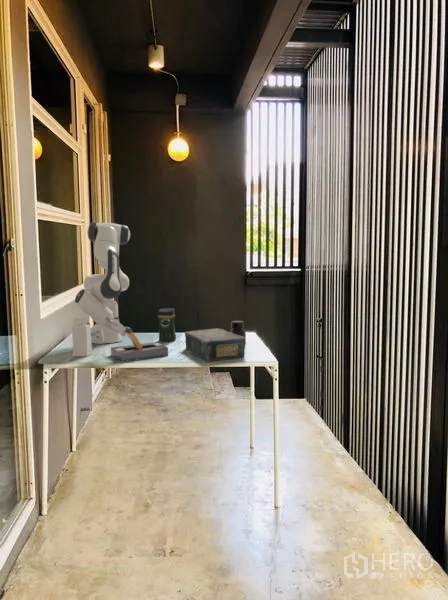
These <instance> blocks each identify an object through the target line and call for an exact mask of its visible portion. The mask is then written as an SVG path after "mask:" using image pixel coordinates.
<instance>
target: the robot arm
mask: <svg viewBox="0 0 448 600" xmlns="http://www.w3.org/2000/svg"><path fill="white" fill-rule="evenodd" d="M86 234H87V238H88V240H89V241H91V242H93V243H94V247H93V254H94V257H95V258H96V260H97V262H98V265H99V267H101V268H102V269H104V270H106V271H105V273H95V274H91V275H87V276H86V277H85V278H84V280H83V287H84V288H83V289H80V290H79V291H78V292H77V294H76V295H75V298H74V302H75V304H76V306H77V307H78V308H79V309H80V310H81V312H83V313H85V315H87V316H88V317H90V318H91V319H92V320H93V322H95V324H94V325H92V326H91V344H98V345H102V344H103V345H104V344H112V343H113V344H114V343H118V342H121V341H123V339H122V336H123V337H126V336H127V333H126V332H125V330H126V328H125V327H126V326H124V325H123V324H122V323H120V317H119V304H118V302H117V301H116V300H115V298H118V297H119V296H120V294H121V292H125V291H126V290H128V289H129V287H130V279H129V277H128V276H127V274H125V273H124V272H123V271H122V270H121V269H122V268H121V267H120V246H121V245H122V246H123V245H126V244H128V242H129V241H130V238H131V231H130V228H129V227H128V226H127V225H124V224H118V223H115V222H96V221H94V222H91V223H89V225H88V227H87V231H86Z"/></svg>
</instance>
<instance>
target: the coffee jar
mask: <svg viewBox="0 0 448 600" xmlns="http://www.w3.org/2000/svg"><path fill="white" fill-rule="evenodd" d="M157 312H158V313H157V318H158V322H159V325H158V326H159V329H158V341H160V342H172V341H176V339H177V337H176V336H177V335H176V334H177V333H176V327H175V318H176V313H175V308H160V309H158V311H157Z"/></svg>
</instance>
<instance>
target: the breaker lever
mask: <svg viewBox="0 0 448 600" xmlns="http://www.w3.org/2000/svg"><path fill="white" fill-rule="evenodd" d="M124 327H125V328H126V330H125V331H124V332H125V333H126V336H128V338H129V339H130V341H131V343H132V345H134V346H135V347H136V348H137V349H141V348H142V345H141V344H142V343H140V340H139V339H138V338H137V336H136V335H135V333H134V332H133V328H131V327H128V326H124Z"/></svg>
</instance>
